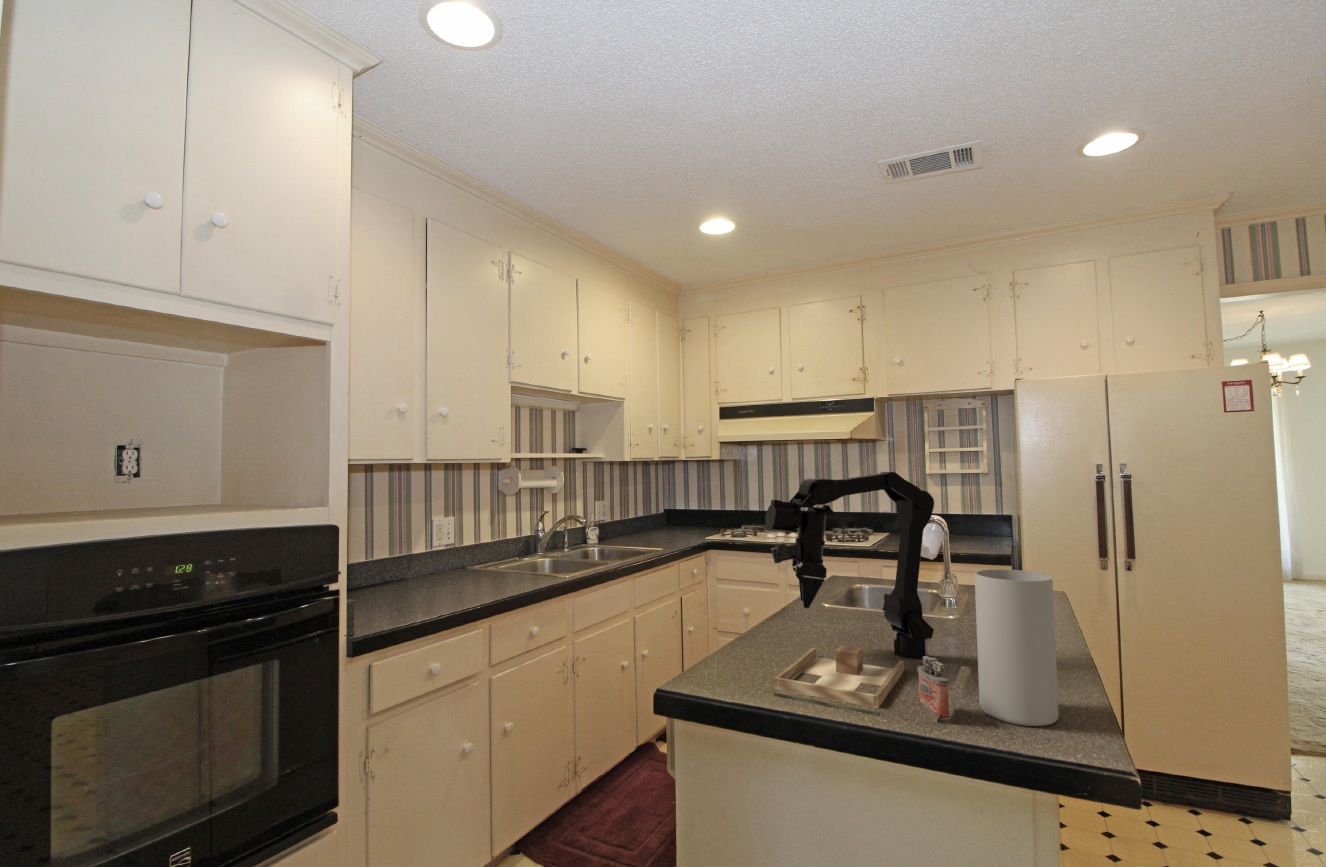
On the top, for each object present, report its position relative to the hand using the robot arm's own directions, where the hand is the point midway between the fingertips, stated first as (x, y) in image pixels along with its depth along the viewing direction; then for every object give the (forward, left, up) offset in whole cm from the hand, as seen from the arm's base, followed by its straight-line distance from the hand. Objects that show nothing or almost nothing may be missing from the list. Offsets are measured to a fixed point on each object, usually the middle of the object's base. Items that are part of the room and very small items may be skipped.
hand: (804, 604), depth 139 cm
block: (-10, 0, -13) cm, 16 cm away
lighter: (-28, +12, -15) cm, 34 cm away
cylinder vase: (-41, +4, -15) cm, 44 cm away
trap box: (-10, +6, -15) cm, 18 cm away
